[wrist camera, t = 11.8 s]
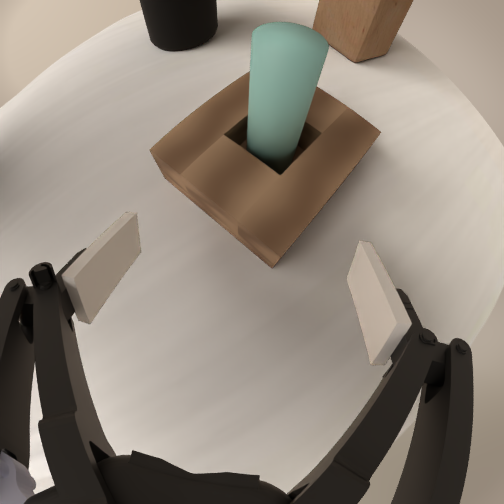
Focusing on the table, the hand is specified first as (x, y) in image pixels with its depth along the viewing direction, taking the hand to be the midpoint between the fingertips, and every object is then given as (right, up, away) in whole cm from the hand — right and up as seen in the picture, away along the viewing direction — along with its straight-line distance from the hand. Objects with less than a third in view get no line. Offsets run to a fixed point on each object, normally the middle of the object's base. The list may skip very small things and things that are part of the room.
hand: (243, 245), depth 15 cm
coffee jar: (-10, +34, +16) cm, 39 cm away
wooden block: (+17, +34, +17) cm, 42 cm away
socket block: (+2, +9, +11) cm, 14 cm away
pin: (+2, +9, +10) cm, 13 cm away
